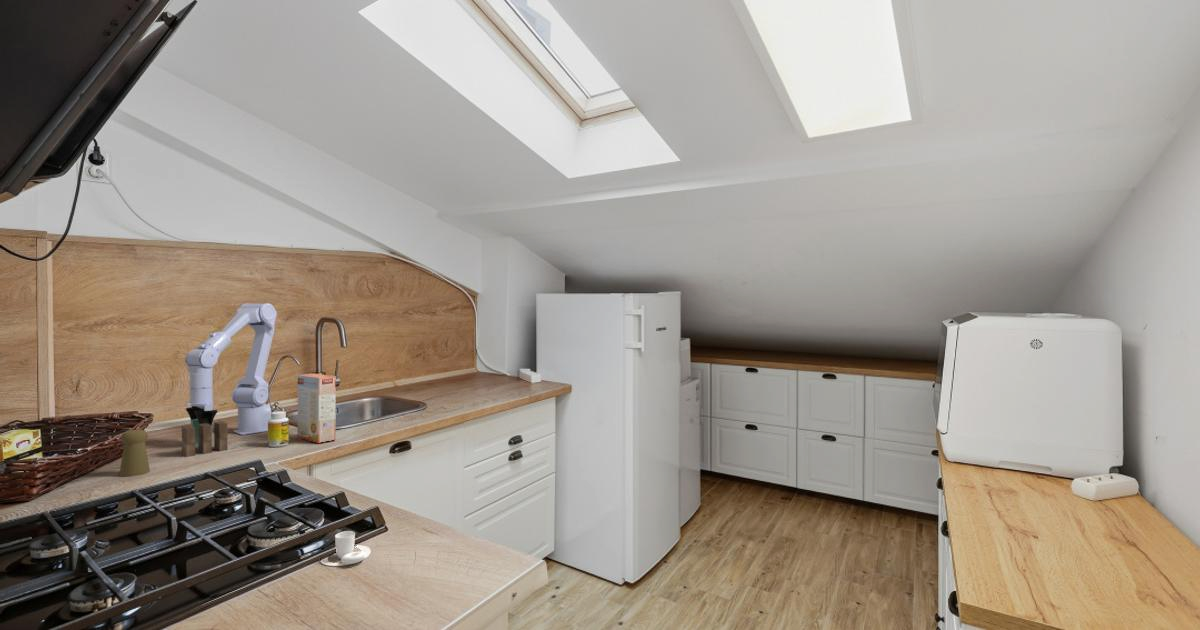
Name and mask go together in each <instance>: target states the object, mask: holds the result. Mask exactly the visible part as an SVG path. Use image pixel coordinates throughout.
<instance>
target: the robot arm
mask: <svg viewBox="0 0 1200 630" xmlns="http://www.w3.org/2000/svg"><path fill="white" fill-rule="evenodd" d="M277 315H278V312H277V310H276V309H275V307H274V305H273V304H271V303H268V302H267V303H247V302H246V303H243V304H242V305H241V306H240V307H239V308H237V309H236V314H235V315H234V316H233V317H232V319H231V320H230V321H229V322H228V323H227V324H226V325H225V326H224V327H223V329H221V331H215V332H210V334H209V335H208V336H209V337H208V338H206V339H205V341H204V342H202V343H201V344H199V345H198V347H197V348H194V349H192V350H190V351H188V353H187V354H186V357H185V358H184V363H185V365H186V366H187V368H188V369H187V370H188V372H189V402H186V403H185V404H184V405H185V406H187V407H186V408H185V411H186V412H187V414H188V416H189V418H190V421H191V420H193V419H198V422H199V424H204V423H207V424H209V425H212V426H213V423H214V419H215V416H217V414H218V409H214V407H213V406H214V400H213V398H214V395H213V394H214V393H213V391H214V390H213V389H214V388H213V387H214V385H213V384H214V383H213V380H214V379H213V375H214V374H213V367H214V366H215V365H217V363H218V359H219V357H220V355H221V354H222V352H224V351H225V350H226V349H227V348H228V347H229V346H230V345H231V343H232V340H231V339H232V338H233V337H234V336H235V335H236V334H237V333H239V332H240V331H241V330H242V329H243V328H244V327H245V326H249V327H250V328H251V329H253V330H254V332H255V333H254V338H253V341H252V345H251V350H250V354H249V356H248V357H249V358H248V362H247V366H246V368H245V369H246V370H245V374H244V376H242V378H241V379H240V380H238V381H237V383H236V387H234V389H233V391H232V394H231V399H232V402H233V403H234V404H235V407H237V429H234V430H233V432H234V433H236V434H238V435H241V436H244V435H252V434H256V433H264V432H268V420H269V419H272V418H271V413H272V409H271V406H270V404H268V403H266V402H267V401H268V398H269V386H270V385H269V383H268V381H266V380H265V379H264V376H265V372H266V367H267V364H268V360H269V356H270V352H271V347H272V344H273V338H274V335H275V329H276V328H275V326H276V325H275V323H276V319H277ZM189 406H191V407H189Z"/></svg>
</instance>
